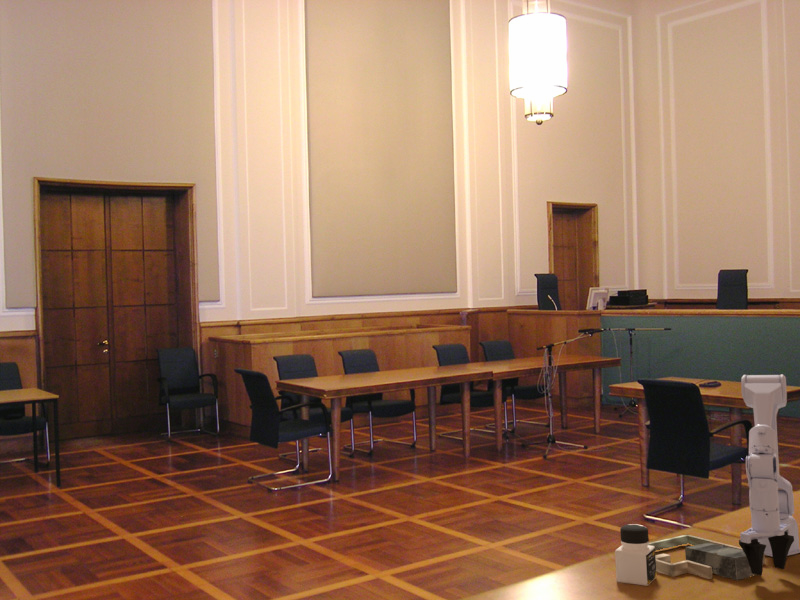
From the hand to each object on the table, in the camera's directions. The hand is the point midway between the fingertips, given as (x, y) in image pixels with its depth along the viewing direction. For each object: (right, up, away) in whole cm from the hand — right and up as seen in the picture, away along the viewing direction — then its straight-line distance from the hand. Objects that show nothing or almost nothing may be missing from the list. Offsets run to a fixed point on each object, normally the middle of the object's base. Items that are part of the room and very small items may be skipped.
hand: (768, 571), depth 180 cm
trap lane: (-12, -3, +16) cm, 20 cm away
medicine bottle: (-28, -4, +4) cm, 28 cm away
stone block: (-6, -3, +9) cm, 11 cm away
